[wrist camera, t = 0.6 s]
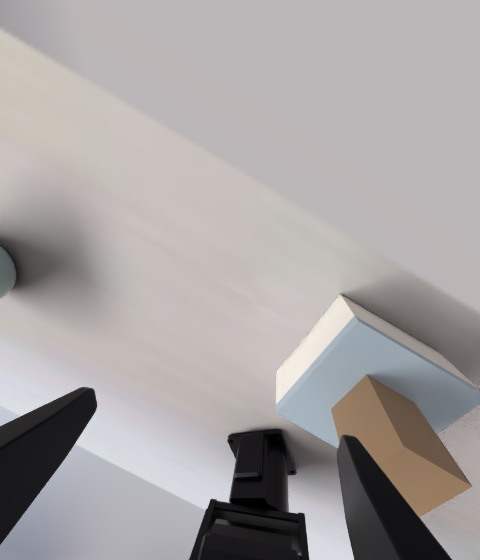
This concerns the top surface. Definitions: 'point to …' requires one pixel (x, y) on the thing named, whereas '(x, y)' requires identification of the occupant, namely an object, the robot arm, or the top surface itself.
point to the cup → (6, 273)
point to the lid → (385, 410)
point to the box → (330, 328)
